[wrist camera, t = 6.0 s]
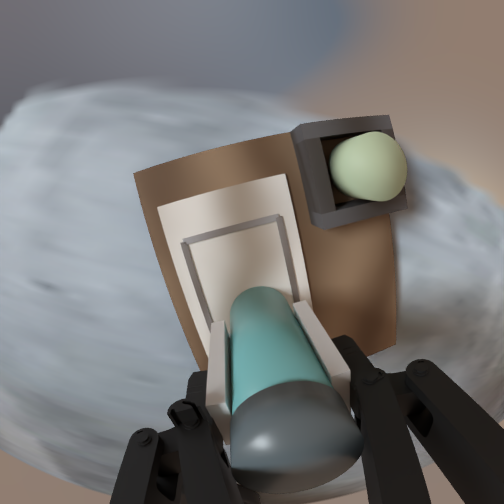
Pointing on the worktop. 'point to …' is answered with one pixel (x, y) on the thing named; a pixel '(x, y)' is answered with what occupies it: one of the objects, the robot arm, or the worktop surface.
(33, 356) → the worktop surface
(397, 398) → the robot arm
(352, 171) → the button
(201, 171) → the clipboard
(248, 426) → the marker
